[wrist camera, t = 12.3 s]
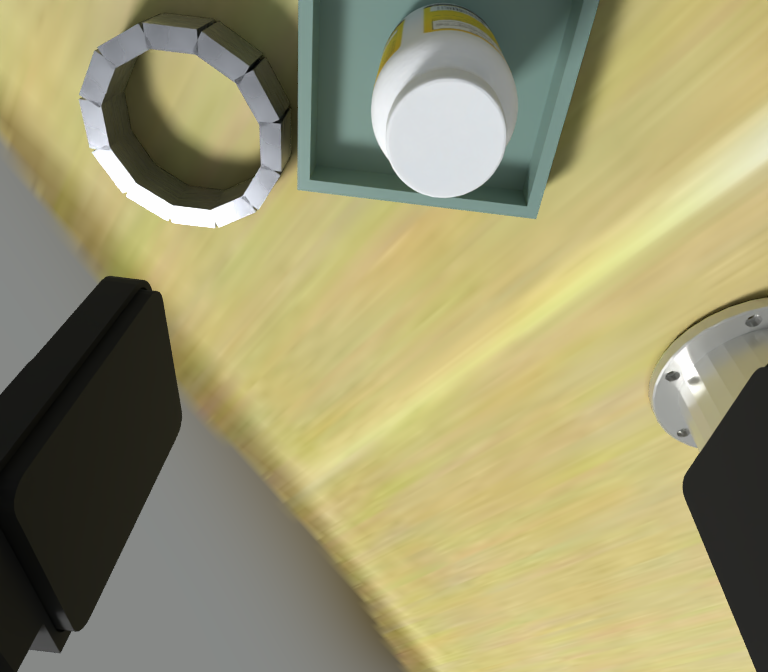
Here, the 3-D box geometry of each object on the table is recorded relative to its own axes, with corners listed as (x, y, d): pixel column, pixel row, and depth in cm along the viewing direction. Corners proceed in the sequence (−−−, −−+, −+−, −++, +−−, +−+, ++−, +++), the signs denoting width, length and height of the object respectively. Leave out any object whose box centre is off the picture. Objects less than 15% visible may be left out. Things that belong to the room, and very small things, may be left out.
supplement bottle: (410, 145, 28) (402, 239, 21) (362, 35, 26) (331, 96, 18) (515, 99, 27) (549, 182, 19) (476, -24, 24) (498, 15, 16)
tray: (605, -79, 23) (621, -76, 21) (529, 197, 30) (536, 218, 28) (310, -116, 23) (299, -117, 21) (306, 170, 30) (297, 189, 28)
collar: (291, 28, 26) (279, 39, 24) (291, 214, 32) (282, 236, 30) (87, 3, 26) (59, 12, 24) (125, 194, 32) (104, 214, 30)
